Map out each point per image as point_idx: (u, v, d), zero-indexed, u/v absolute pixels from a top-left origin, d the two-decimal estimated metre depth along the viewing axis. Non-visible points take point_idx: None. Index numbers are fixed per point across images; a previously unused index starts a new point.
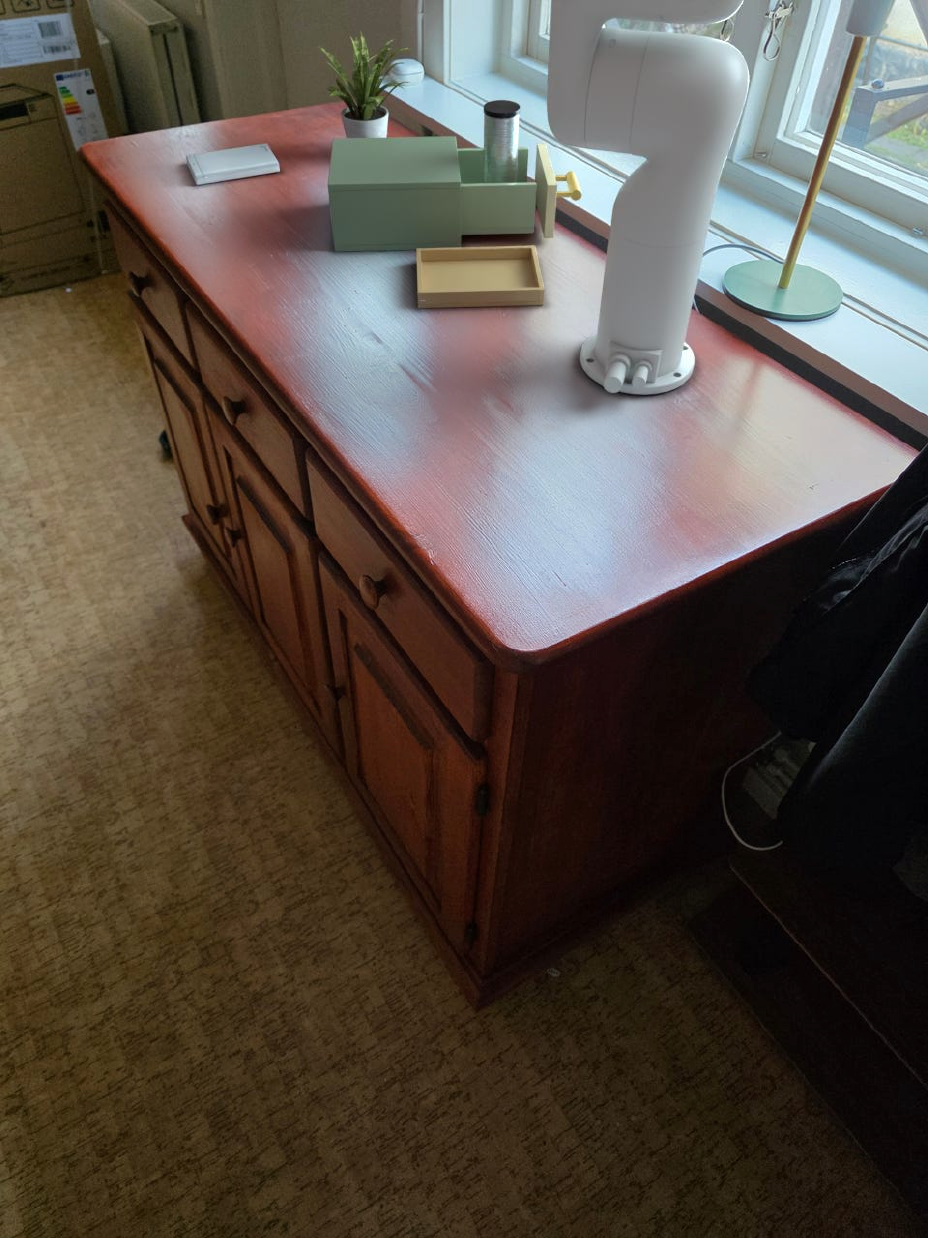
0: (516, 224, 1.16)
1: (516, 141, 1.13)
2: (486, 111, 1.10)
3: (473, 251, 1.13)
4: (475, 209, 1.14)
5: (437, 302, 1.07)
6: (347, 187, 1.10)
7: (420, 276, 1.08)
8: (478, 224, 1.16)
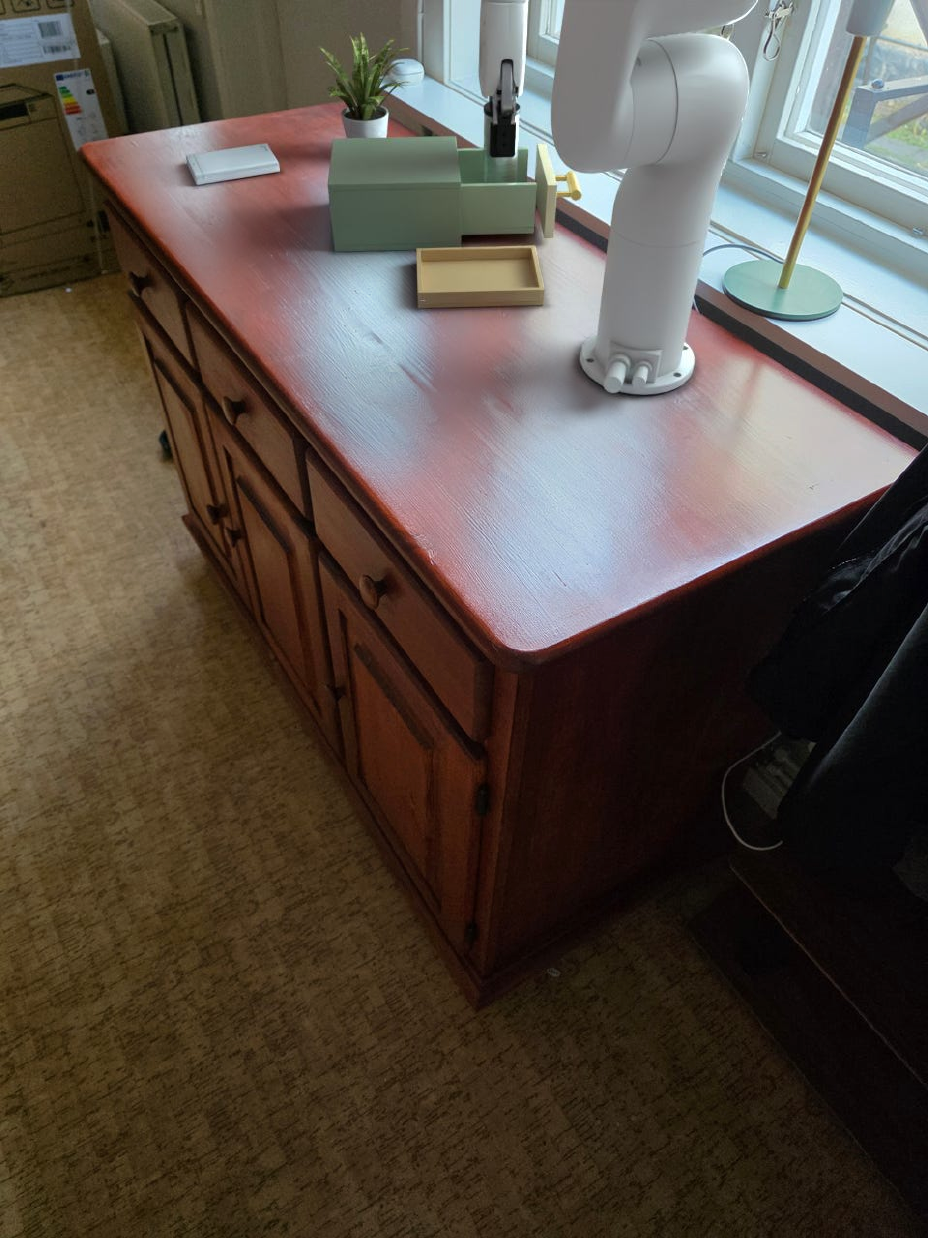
0: (516, 224, 1.16)
1: (516, 141, 1.13)
2: (486, 111, 1.10)
3: (473, 251, 1.13)
4: (475, 209, 1.14)
5: (437, 302, 1.07)
6: (347, 187, 1.10)
7: (420, 276, 1.08)
8: (478, 224, 1.16)
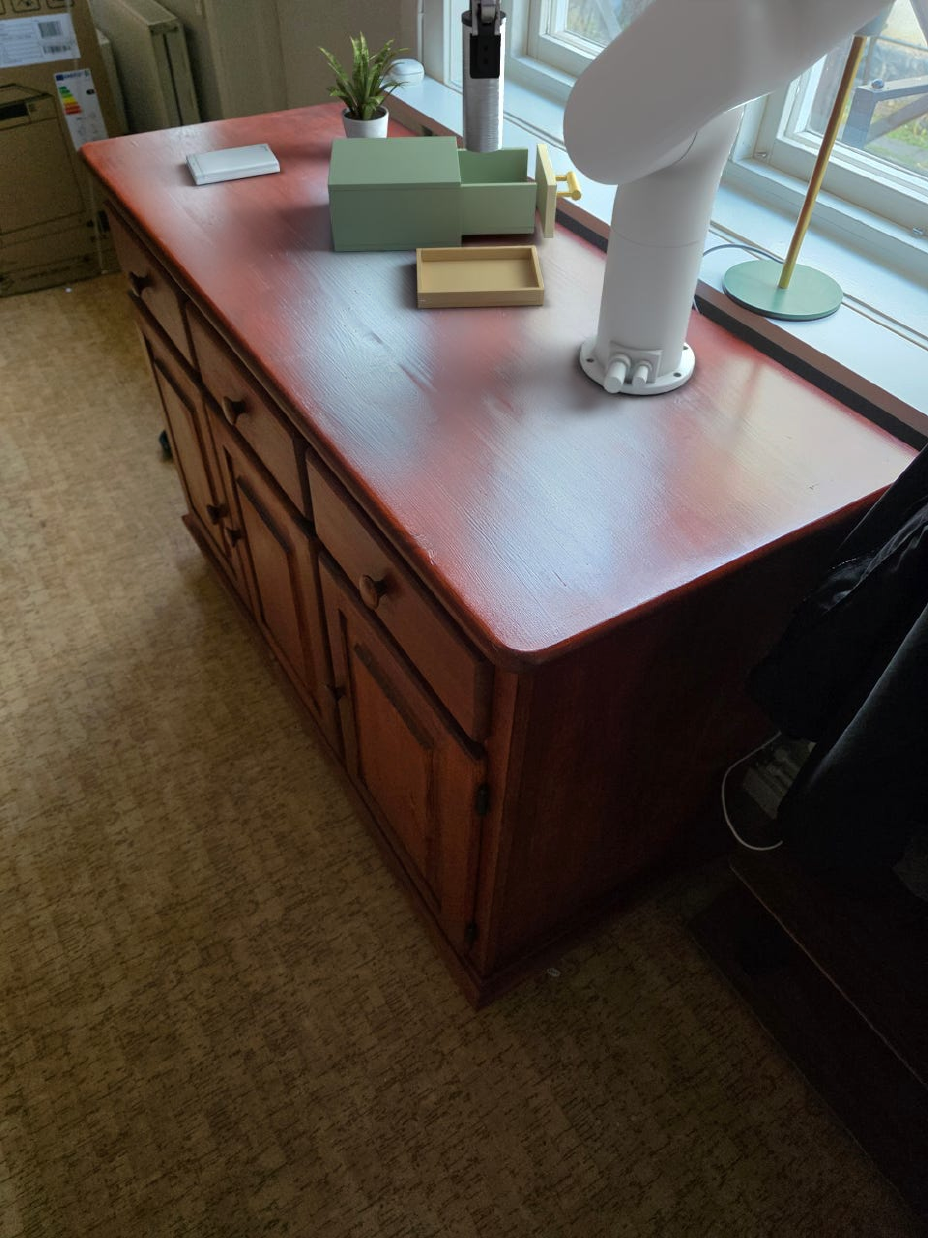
0: (516, 224, 1.16)
1: (501, 59, 0.93)
2: (464, 20, 0.90)
3: (473, 251, 1.13)
4: (475, 209, 1.14)
5: (437, 302, 1.07)
6: (347, 187, 1.10)
7: (420, 276, 1.08)
8: (478, 224, 1.16)
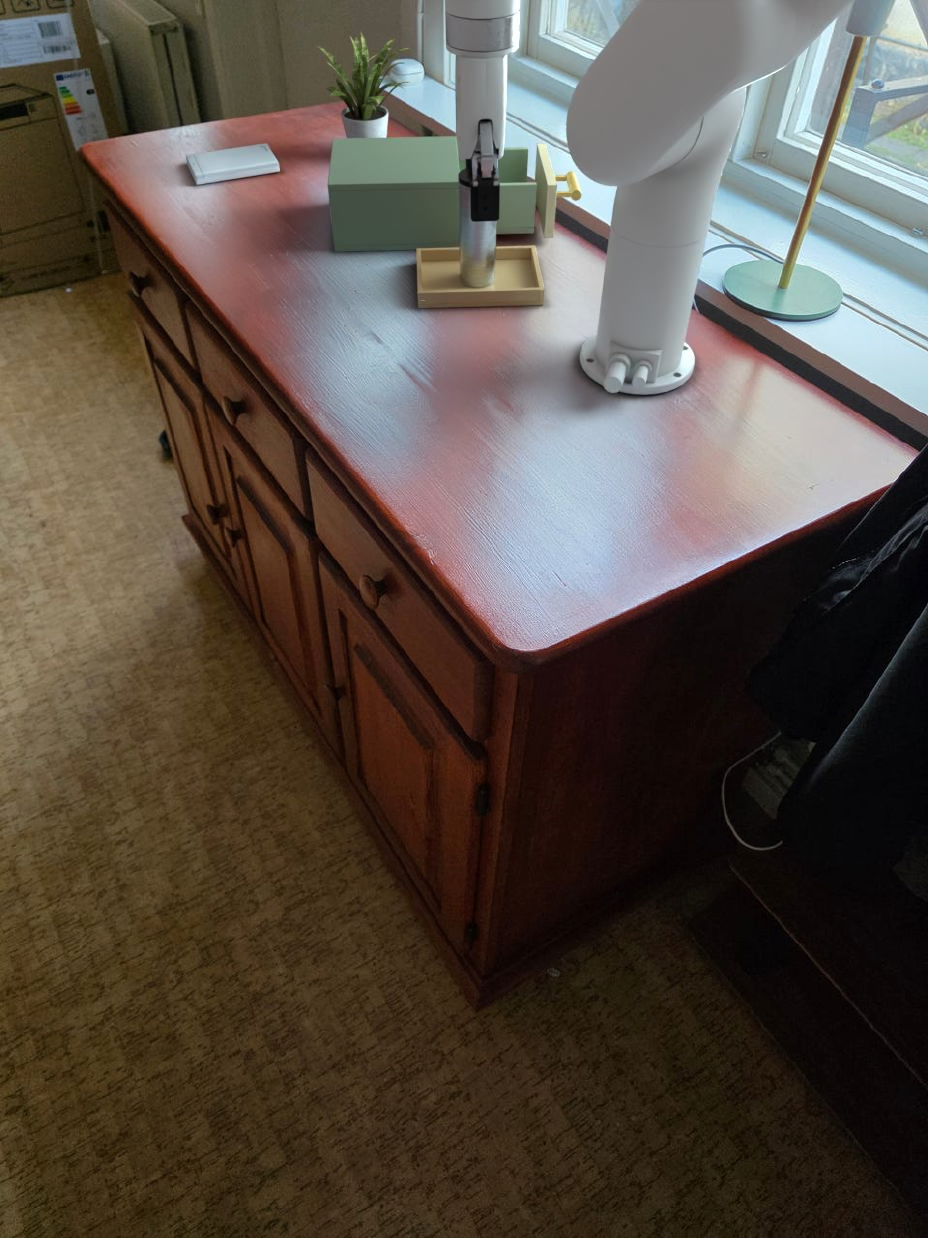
0: (516, 224, 1.16)
1: None
2: (461, 180, 1.00)
3: None
4: None
5: (437, 302, 1.07)
6: (347, 187, 1.10)
7: (420, 276, 1.08)
8: None
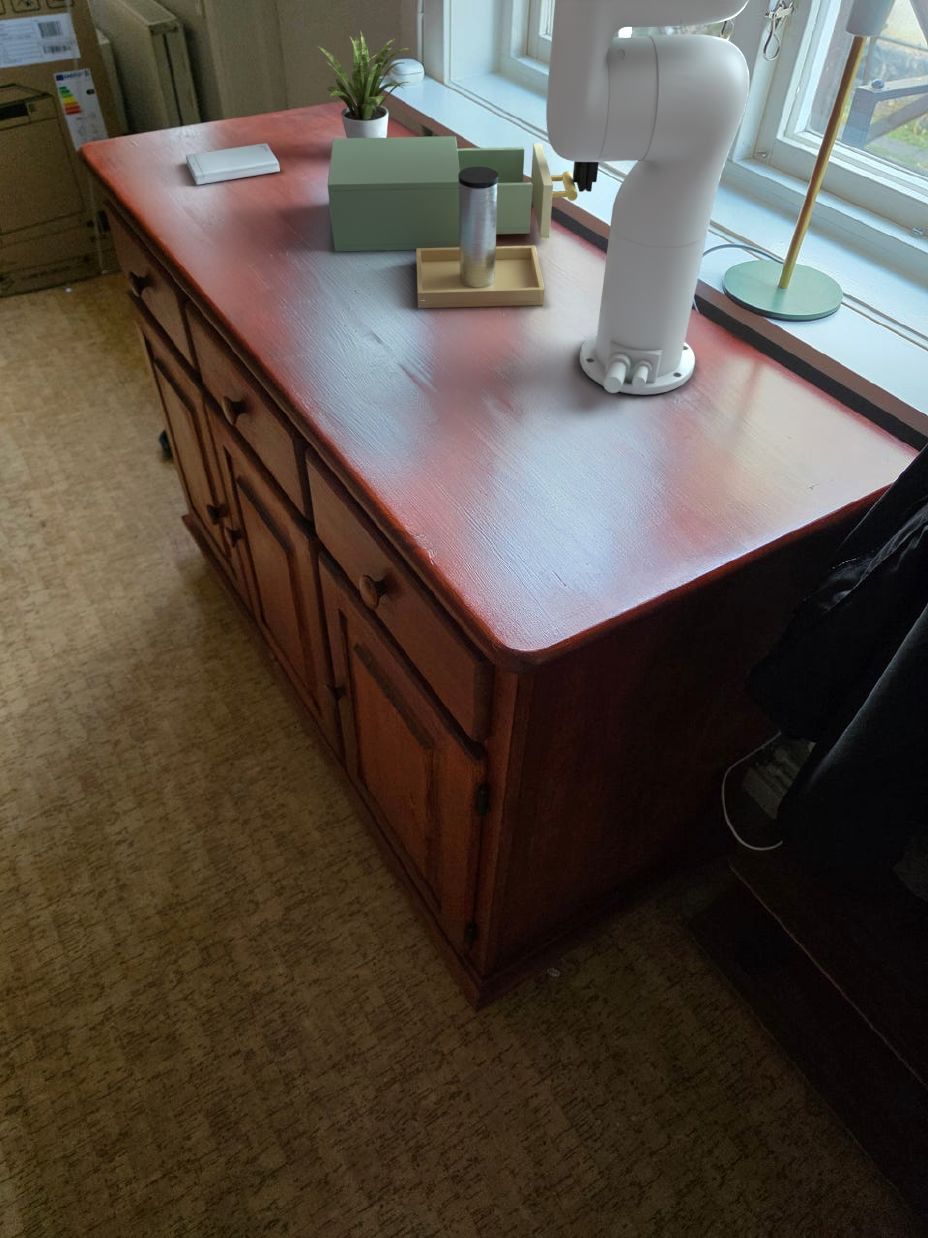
0: (512, 224, 1.16)
1: (494, 211, 1.03)
2: (461, 180, 1.00)
3: None
4: None
5: (437, 302, 1.07)
6: (347, 187, 1.10)
7: (420, 276, 1.08)
8: None
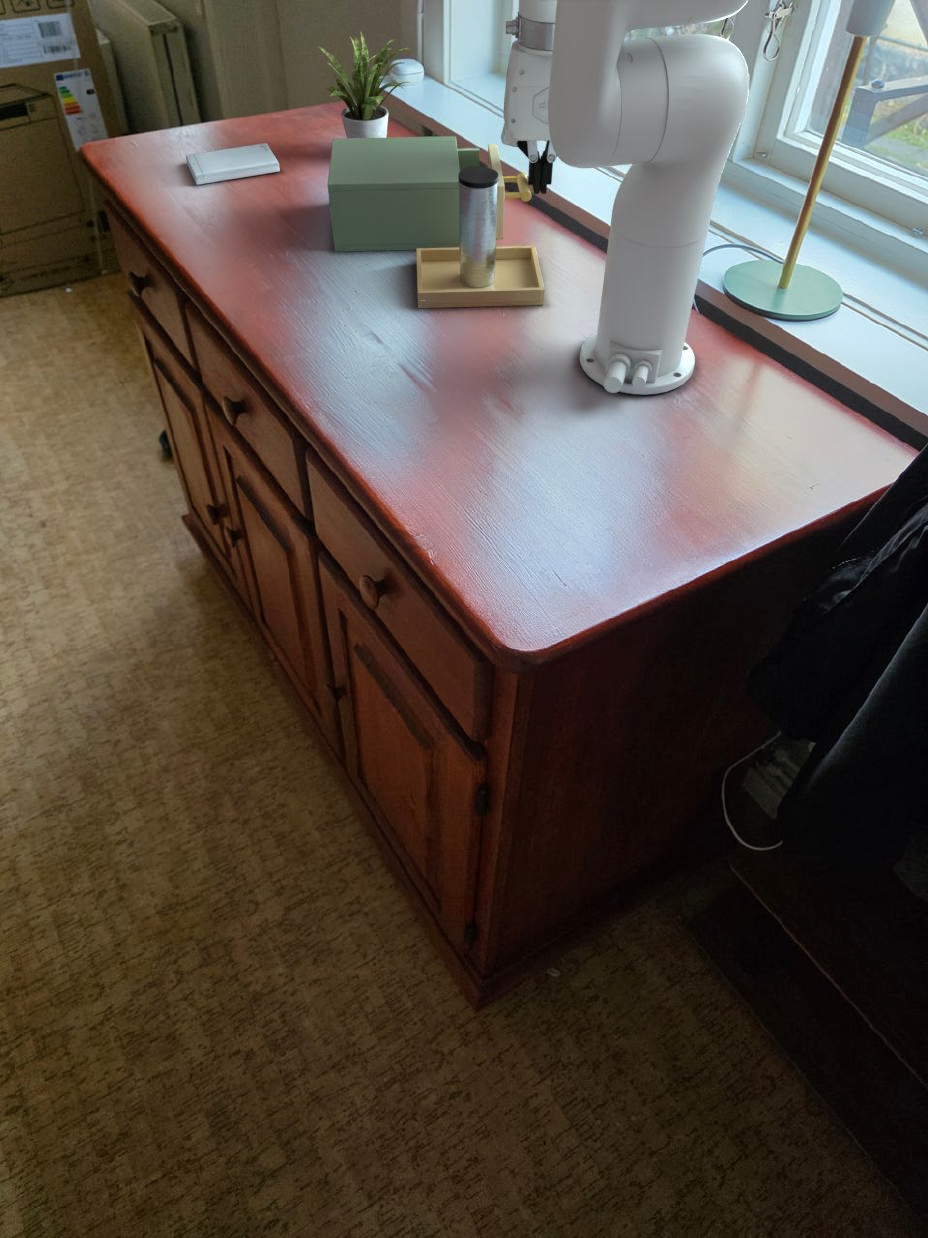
0: None
1: (494, 211, 1.03)
2: (461, 180, 1.00)
3: None
4: None
5: (437, 302, 1.07)
6: (347, 187, 1.10)
7: (420, 276, 1.08)
8: None
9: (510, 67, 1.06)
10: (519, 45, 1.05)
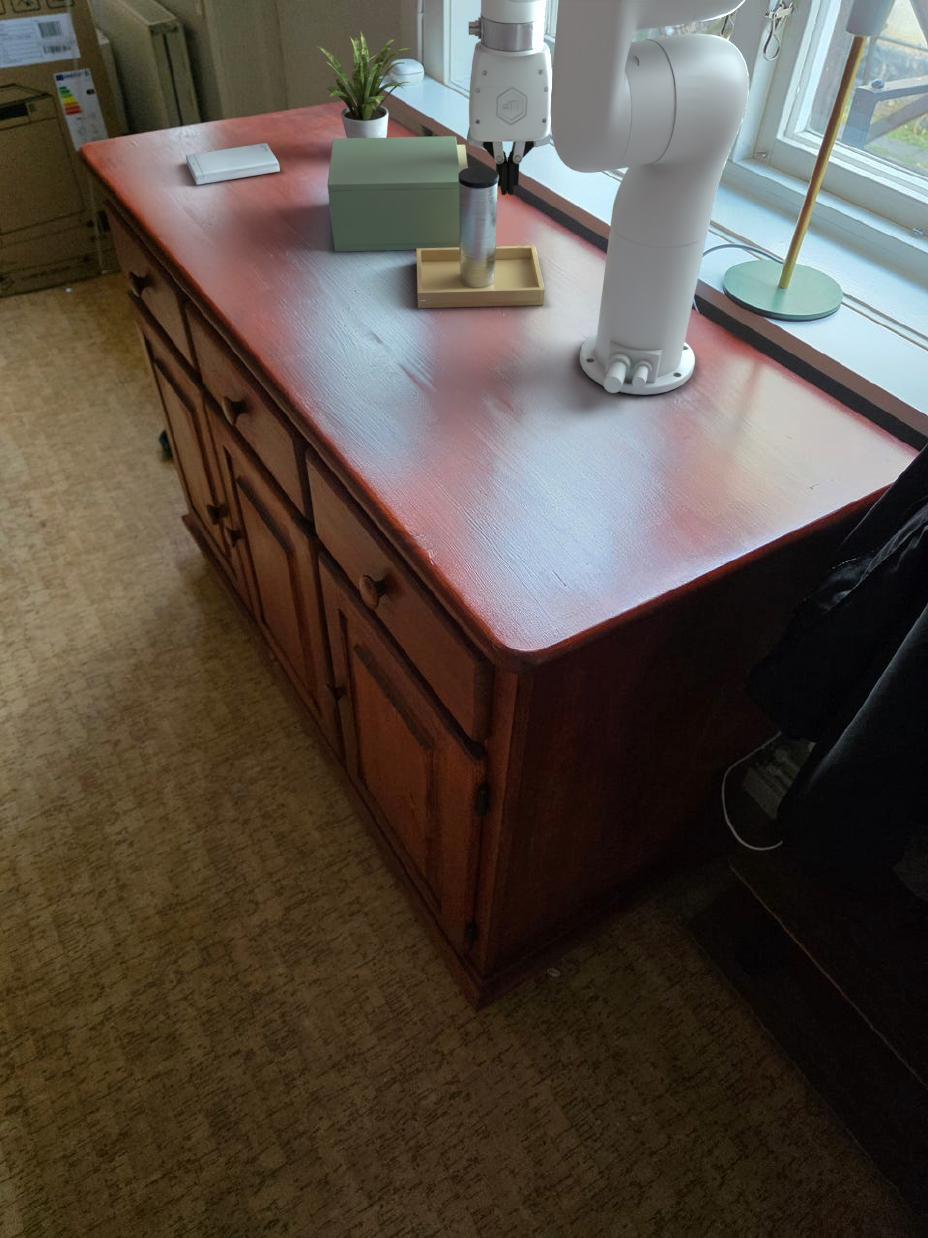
0: None
1: (494, 211, 1.03)
2: (461, 180, 1.00)
3: None
4: None
5: (437, 302, 1.07)
6: (347, 187, 1.10)
7: (420, 276, 1.08)
8: None
9: (473, 68, 1.06)
10: (482, 46, 1.05)
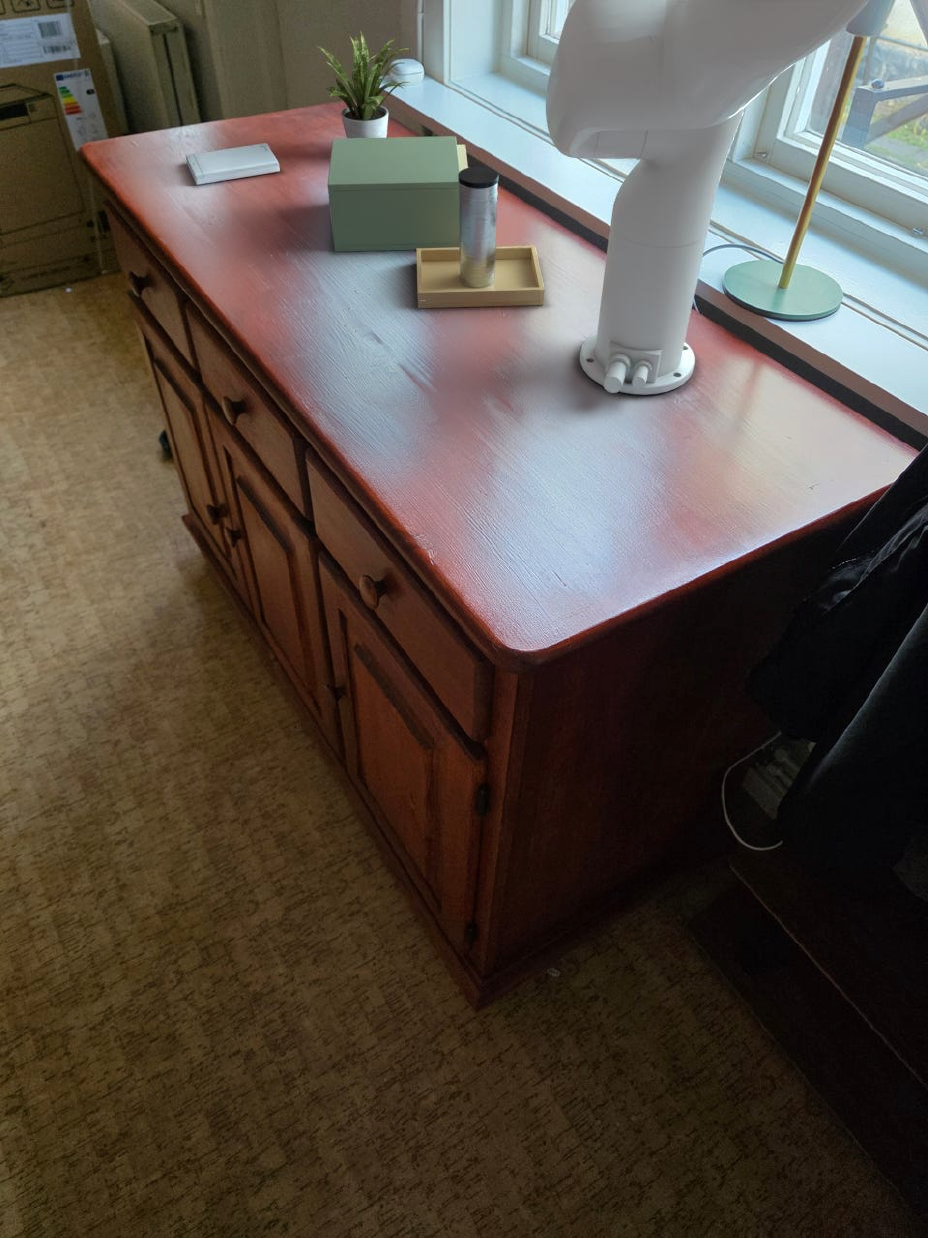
0: None
1: (494, 211, 1.03)
2: (461, 180, 1.00)
3: None
4: None
5: (437, 302, 1.07)
6: (347, 187, 1.10)
7: (420, 276, 1.08)
8: None
9: None
10: None
